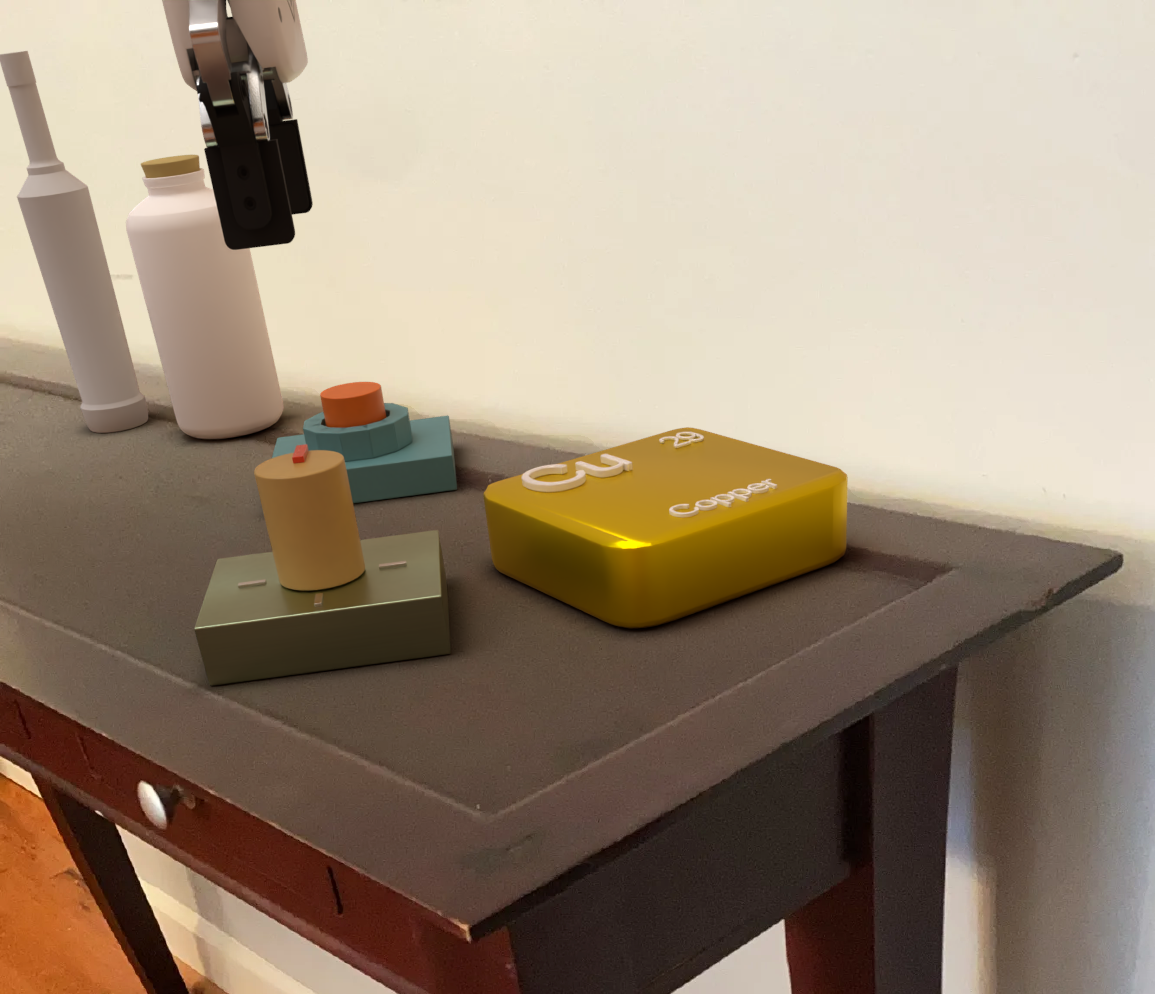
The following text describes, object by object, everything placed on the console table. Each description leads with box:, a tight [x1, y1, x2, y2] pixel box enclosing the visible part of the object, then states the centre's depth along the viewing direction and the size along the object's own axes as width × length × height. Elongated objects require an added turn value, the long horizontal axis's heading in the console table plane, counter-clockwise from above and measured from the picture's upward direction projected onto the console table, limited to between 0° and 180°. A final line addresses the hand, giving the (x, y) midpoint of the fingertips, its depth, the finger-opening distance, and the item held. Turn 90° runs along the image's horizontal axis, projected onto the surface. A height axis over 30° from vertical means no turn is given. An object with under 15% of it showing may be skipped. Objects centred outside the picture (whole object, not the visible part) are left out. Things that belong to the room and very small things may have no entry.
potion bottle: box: [125, 154, 285, 440], centre depth 104 cm, size 8×8×18 cm
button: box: [319, 381, 387, 428], centre depth 92 cm, size 4×4×2 cm
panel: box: [193, 529, 452, 687], centre depth 72 cm, size 12×10×3 cm
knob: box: [253, 444, 365, 590], centre depth 70 cm, size 4×4×6 cm
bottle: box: [0, 50, 149, 434], centre depth 107 cm, size 5×5×25 cm
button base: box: [271, 402, 458, 504], centre depth 93 cm, size 12×10×4 cm
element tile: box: [482, 426, 849, 629], centre depth 75 cm, size 15×15×5 cm
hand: (272, 229), depth 68 cm, fingers open, 9 cm apart
